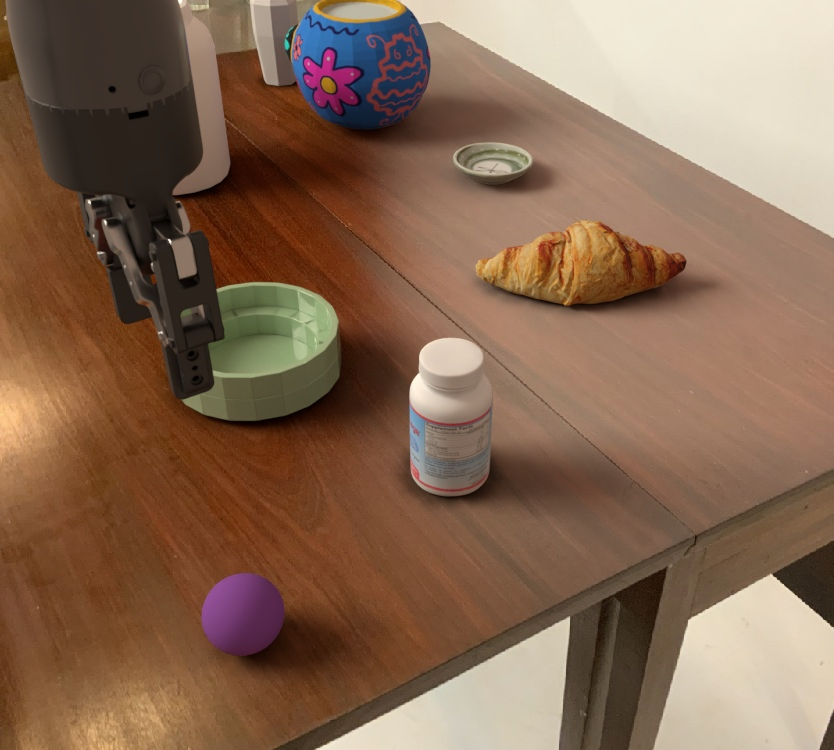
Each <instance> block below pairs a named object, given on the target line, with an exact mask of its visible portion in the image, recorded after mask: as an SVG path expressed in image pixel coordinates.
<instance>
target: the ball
mask: <svg viewBox="0 0 834 750" xmlns="http://www.w3.org/2000/svg"><path fill="white" fill-rule="evenodd" d="M281 594H282V593H280V591H279V589H278V588H277V587H276V585H275V584H274V583H272V582H271V581H270V580H269V579H268V578H266V577H264V576H262V575H259V574H256V573H251V572H240V573H235V574H232V575H229V576H227V577H225V578H223V579H221V580H220V581H219V582H217V583H216V584H215V585H214V586H213V587H212V588H211V590H210V591H209V592H208V594H207V595H206V597H205V599H204V602H203V604H202V609H201V626H202V629H203V632H204V634H205V636H206V638H207V639H208V641H209V642H210V643H211V644H212V645H213V646H214V647H215V648H216V649H217V650H218V651H221V652H222V653H225V654H227V655H231V656H237V657H244V656H251V655H253V654H257V653H260V652H261V651H263V650H265V649H266V648H267V647H269V646H270V645H271V644H272V643H273V642H274V641H275V640H276V638H277V637H278V635H279V634H280V633H281V632H280V631H281V630H282V629H283V628H282V627H283V625H284V621H285V614H286V613H285V612H286V611H285V610H286V609H285V604H284V599H283V596H282V595H281Z"/></svg>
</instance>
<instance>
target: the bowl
mask: <svg viewBox="0 0 834 750" xmlns="http://www.w3.org/2000/svg"><path fill="white" fill-rule="evenodd" d="M216 290H217V295H218V301H219V306H220V312H221V318H222V323H223V326H224V335H225V338H224V339H223V340H220V341H217V342H212V343H209V344H208V346H209V352H210V358H211V364H212V370H213V376H214V386H213V387H212V389H211V390H209V391H207V392H204V393H201V394H198V395H196V396H193V397H190V398H187V399H183V400H181V401H182V403H183V404H184V405H186V406H187V407H188V408H191V409H192V410H194V411H196V412H198V413H199V414H201V415H204V416H207V417H210V418H216V419H219V420H225V421H230V422H231V421H233V422H240V421H241V422H258V421H259V422H260V421H263V420H268V419H269V420H270V419H275V418H279V417H285V416H288V415H290V414H293V413H296V412H298V411H301V410H303V409H307V408H308V407H310V406H312V405H313V404H314V403H316V402H317V401H319V400H320V399H321V398H323V397H324V396H325V395H327V394H328V393H329V392H330V391H331V390H332V388H333V386H335V384H336V382H337V381H338V379H339V378H340V376H341V375H340V374H341V368H342V362H343V361H342V348H341V345H342V344H341V332H340V320H339V317H338V315H337V312H336V310H335V307H334V306H333V305H331V303H330V302H328V301H327V300H326V299H325V298H324V297H323V296H322V295H320V294H319V293H316V292H313V291H311V290H309V289H307V288H305V287H302V286H297V285H293V284H288V283H283V282H275V281H274V282H270V281H252V282H244V283H243V282H242V283H236V284H230V285H225V286H222V287H219V288H216ZM190 314H192V313H191V310H190V308H189V309H186V310H184V311H183V312H182V313H181V317H184V316H187V315H190Z"/></svg>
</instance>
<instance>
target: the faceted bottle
mask: <svg viewBox="0 0 834 750" xmlns="http://www.w3.org/2000/svg"><path fill="white" fill-rule="evenodd" d="M249 7H250V17H251V24H252V32H253V37H254V40H255V47H256V50H257V54H258V59H259V64H260V68H261V72H262V76H263V81H264V82H265V84H266V85H271V86H277V87H280V86H282V87H283V86H290V85H293V84H294V83H295V82H297V81H296V78H295V74H294V69H293V64H292V63H291V61H290V60H289V58H288V56H287V54H286V50H285V38H286V35H287V33H288V31H289V30H290V29H291V28H292V27H293V26H295V25H297V24H299V17H298V4H297V0H249Z"/></svg>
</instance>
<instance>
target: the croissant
mask: <svg viewBox="0 0 834 750" xmlns="http://www.w3.org/2000/svg"><path fill="white" fill-rule="evenodd" d="M686 267H687V259H686V257H685V256H684V254H682V253H680V252H673V253H668V252H667V251H666V250H665V249H663V248H662V247H659V246H656V245H653V244H646V245H643V244H641V243H639V241H638V240H636V239H635V238H633V237H632V236H629V235H626V234H621V233H620V231H614V230H613V228H611V227H610V226H609V225H607V224H606V223H603V222H602V221H597V220H587V219H582V220H579V221H577V222H574V223H572V224H571V225H569V226H567V227H566V229H565V230H564V231H562V232H561V231H551V232H547V233H545V234H542V235H539V236H537V237H536V238H534V240H533V241H532V242H530V243H529V242H527V243H525V244H522V245H516V246H510V247H509V246H508V247H507V248H505V249H504V250H501V251H500V252H498V253H497V254H496V255H495V256H494V257H492V258H490V257H487V258H482V259H479V260H478V261H477V263H476V264H475V266H474V268H475V273H476V274H475V275H476V276H477V277H478V278H480V280H482V281H483V282H486V283H488V284H490V285H491V286H495V287H498V288H501V289H502V290H505V291H506V292H509V293H513V294H516V295H522V296H525V297H527V298H528V297H529V298H532V299H535V300H541V301H542V300H543V301H545V302H550V303H555V304H559V305H564V307H566V306H573V305H577V304H585V305H590V304H591V305H593V304H594V305H595V304H601V303H607V302H613V301H616V300H620V299H622V298H625V297H626V296H631V295H634V294H637V293H642V292H645V291H648V290H650V289H654V288H658V287H661V286H663V285H665V284H666V283H668V282H670V281H671V280H673V279H674V278H675V277H677V276H678V275H680V274H682V273H683V271H684V270H685V269H686Z"/></svg>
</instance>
